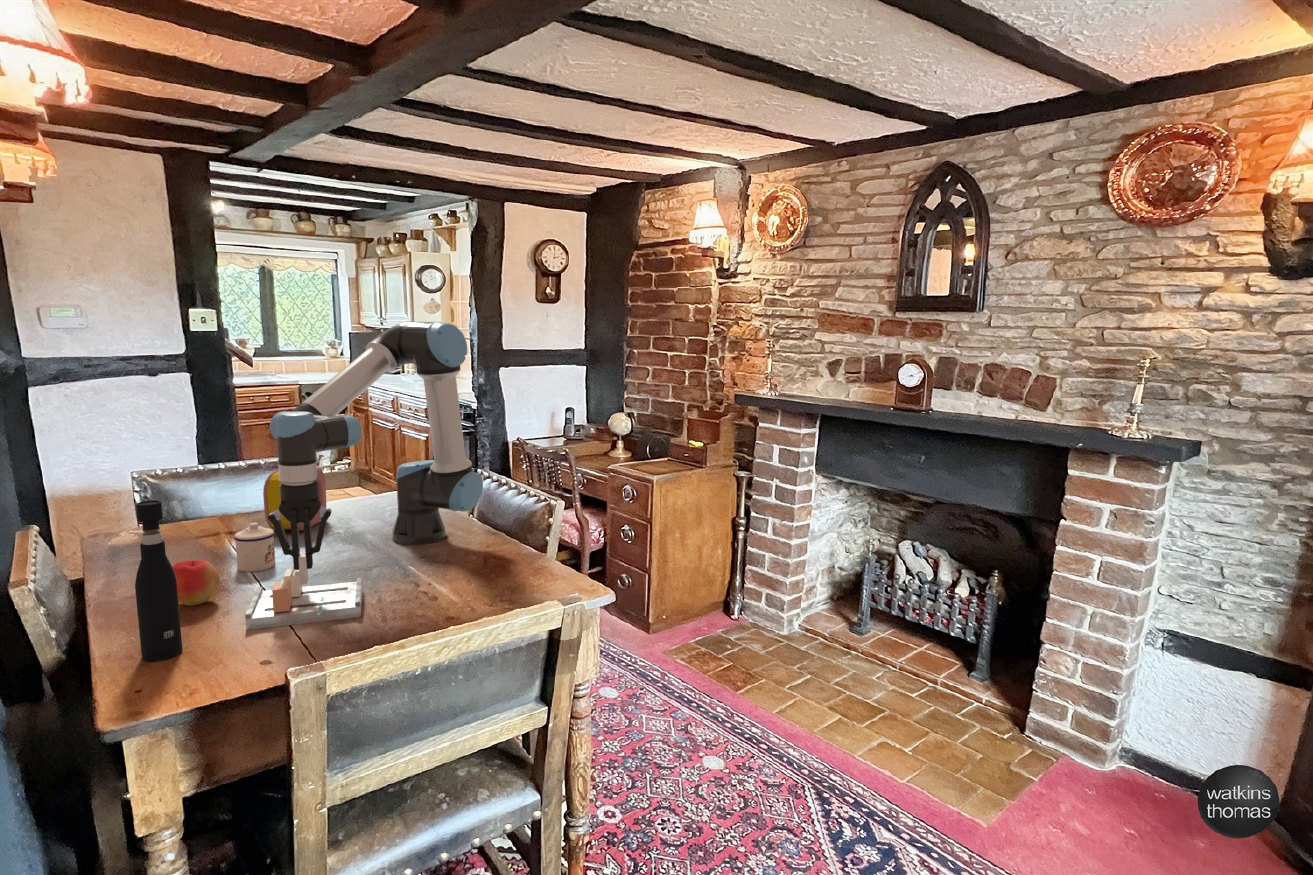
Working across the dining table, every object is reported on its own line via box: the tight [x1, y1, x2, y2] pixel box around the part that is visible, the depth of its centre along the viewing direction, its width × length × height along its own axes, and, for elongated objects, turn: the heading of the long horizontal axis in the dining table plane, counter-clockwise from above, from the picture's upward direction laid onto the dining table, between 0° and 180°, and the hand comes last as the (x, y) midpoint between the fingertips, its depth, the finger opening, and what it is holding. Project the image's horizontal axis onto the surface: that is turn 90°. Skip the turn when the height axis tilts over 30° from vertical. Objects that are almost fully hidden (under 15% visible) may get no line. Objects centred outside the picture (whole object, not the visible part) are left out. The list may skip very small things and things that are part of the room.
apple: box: [172, 559, 220, 607], centre depth 157 cm, size 10×10×10 cm
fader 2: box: [283, 567, 303, 597], centre depth 159 cm, size 3×5×5 cm, turn 21°
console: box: [244, 577, 363, 631], centre depth 157 cm, size 22×20×3 cm
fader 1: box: [271, 579, 292, 612], centre depth 151 cm, size 3×5×5 cm, turn 21°
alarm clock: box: [262, 467, 327, 532], centre depth 216 cm, size 18×11×19 cm, turn 179°
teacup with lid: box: [233, 522, 276, 573], centre depth 183 cm, size 12×9×12 cm
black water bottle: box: [134, 499, 183, 663], centre depth 132 cm, size 6×6×30 cm
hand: (304, 582), depth 159 cm, fingers closed
